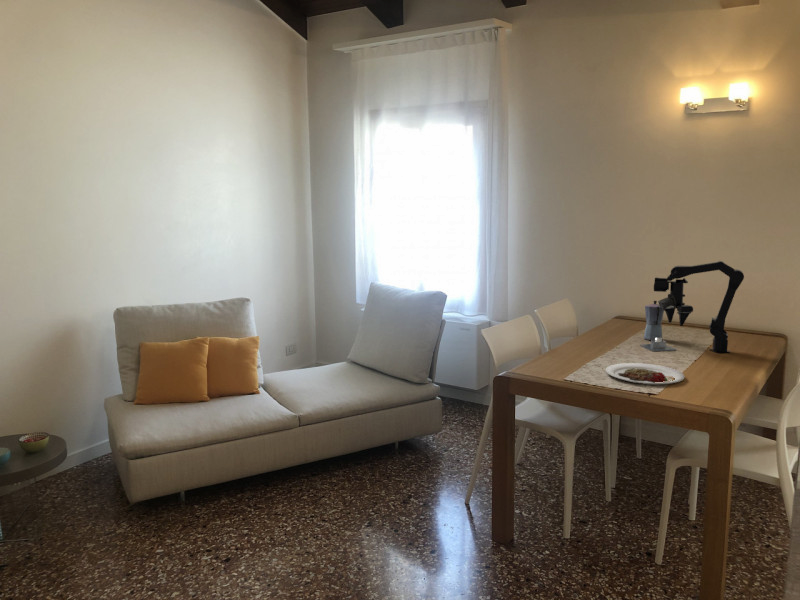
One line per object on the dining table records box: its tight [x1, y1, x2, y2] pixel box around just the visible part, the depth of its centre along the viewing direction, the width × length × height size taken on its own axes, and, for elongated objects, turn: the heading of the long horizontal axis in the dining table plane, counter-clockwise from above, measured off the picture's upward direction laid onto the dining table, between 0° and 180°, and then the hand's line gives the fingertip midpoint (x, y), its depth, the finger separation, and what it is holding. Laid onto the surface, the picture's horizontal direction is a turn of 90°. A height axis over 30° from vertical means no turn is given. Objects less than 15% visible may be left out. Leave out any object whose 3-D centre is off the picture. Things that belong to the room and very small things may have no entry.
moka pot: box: [643, 300, 665, 341], centre depth 326 cm, size 10×15×20 cm, turn 174°
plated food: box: [605, 362, 685, 385], centre depth 260 cm, size 30×30×3 cm
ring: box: [650, 339, 667, 348], centre depth 309 cm, size 6×6×3 cm
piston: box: [639, 337, 677, 352], centre depth 309 cm, size 12×12×5 cm
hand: (675, 324), depth 309 cm, fingers open, 9 cm apart
